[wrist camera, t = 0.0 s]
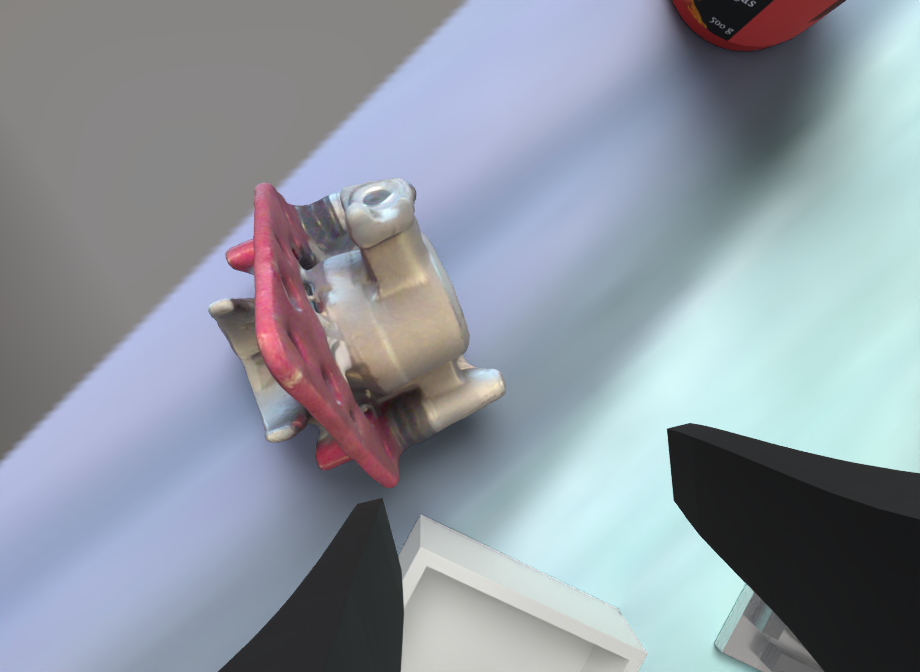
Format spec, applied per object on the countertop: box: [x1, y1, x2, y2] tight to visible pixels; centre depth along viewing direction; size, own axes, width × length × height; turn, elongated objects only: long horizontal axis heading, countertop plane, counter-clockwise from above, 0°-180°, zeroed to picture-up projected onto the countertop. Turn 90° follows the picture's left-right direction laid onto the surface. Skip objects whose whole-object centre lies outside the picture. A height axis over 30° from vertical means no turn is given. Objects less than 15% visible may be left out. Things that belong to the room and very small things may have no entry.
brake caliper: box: [208, 178, 506, 488], centre depth 17 cm, size 11×11×12 cm
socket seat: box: [714, 584, 824, 672], centre depth 23 cm, size 8×8×1 cm
